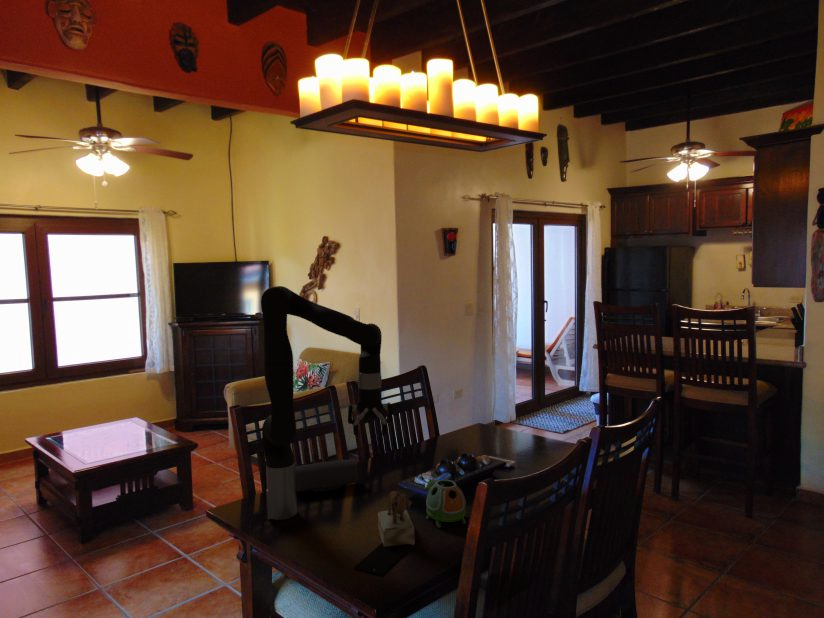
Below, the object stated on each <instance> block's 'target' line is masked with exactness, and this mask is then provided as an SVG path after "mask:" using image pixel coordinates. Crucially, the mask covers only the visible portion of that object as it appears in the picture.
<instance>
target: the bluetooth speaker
mask: <svg viewBox="0 0 824 618" xmlns="http://www.w3.org/2000/svg"><path fill="white" fill-rule="evenodd" d="M295 482H296V492H297V491H298V492H300V491H302V492H303V491H313V493H319V492H318V491H320V492H325V491H326V492H327V491H333V490H338V489H341V487H343V486H347V485H351V484H355V483H358V482H359V470H358V462H357V460H356V459H341V460H330V461H322V462H315V463H314V462H313V463H309V464H304V465H303V464H302V465H297V466H295Z"/></svg>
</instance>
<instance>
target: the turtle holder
mask: <svg viewBox="0 0 824 618" xmlns="http://www.w3.org/2000/svg"><path fill="white" fill-rule="evenodd" d="M440 484H441V485H440ZM425 489H426V492H427V496H426V499H425V502H426V503H425V504H426V511H425V512H426V514H427V515H426V518H425V519H426V520H431V519H432V520H434V521H435V526H436V527H437V528H443V527H442V524H441V522H443V523H444V522H445V523H453V522H460V523H461V524H463V525H465V524H466V520H465V516H466V514H467V510H466V504H467V501H466V498H465V495H464V492H463V491H462V489H461V488H460V487H459V486H458V485H457V483H456V482H454V480H451V479H439V480H436V481H432V480H428V481H427V484H426V485H425Z"/></svg>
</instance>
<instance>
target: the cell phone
mask: <svg viewBox="0 0 824 618" xmlns="http://www.w3.org/2000/svg"><path fill="white" fill-rule="evenodd" d="M412 549H413V545H411V544H403V545H393V546H384V545H383V542H382V541H381V543H380V544H379V545H377V546H376V547H375V548H374V549H373V550H372V551H370V552H369V554H367V555H366V556H365V557H364V558H363V559H362V560H360V561H359V563H357V564H356V565H355V566H354V570H355V571H357V570H359V571H358V572H361V571H362V573H365V572H366V573H365V574H370V575H373V576H377V577H384V576H385V575H386V574H387V573H388V572H389V571H390V570H391V569H392V568H393V567H394V566H395V565H396V564H397V563H398V562H399V561H400V560H401V559H402V558H403V557H404V556H405V555H406V554H407V553H408V552H409V551H410V550H412ZM405 553H406V554H405ZM404 554H405V555H404ZM403 555H404V556H403ZM402 556H403V557H402ZM401 557H402V558H401ZM400 558H401V559H400ZM399 559H400V560H399ZM398 560H399V561H398ZM397 561H398V562H397ZM396 562H397V563H396ZM395 563H396V564H395ZM394 564H395V565H394ZM393 565H394V566H393ZM392 566H393V567H392ZM391 567H392V568H391ZM390 568H391V569H390ZM389 569H390V570H389ZM388 570H389V571H388ZM387 571H388V572H387ZM386 572H387V573H386ZM385 573H386V574H385ZM384 574H385V575H384ZM383 575H384V576H383Z"/></svg>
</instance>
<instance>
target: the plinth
mask: <svg viewBox="0 0 824 618" xmlns="http://www.w3.org/2000/svg"><path fill="white" fill-rule="evenodd" d="M387 513H388V510H380V511H379V512H377V529H378V533H379V536H380V539H381V543H382V542H383V545H384V546H393V545H403V544H411V545H412V546H414V545H415V544H416V543H415V527H414V524H413V522H412V520H411V517H410V515H409V512H408V510H407V509H406V510H405V511H404V513H403V519H405V520H404V521H401V520H400V514H397V513H396V520H397V523H393V515H392V509H391V514H390V515H388V514H387Z"/></svg>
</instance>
